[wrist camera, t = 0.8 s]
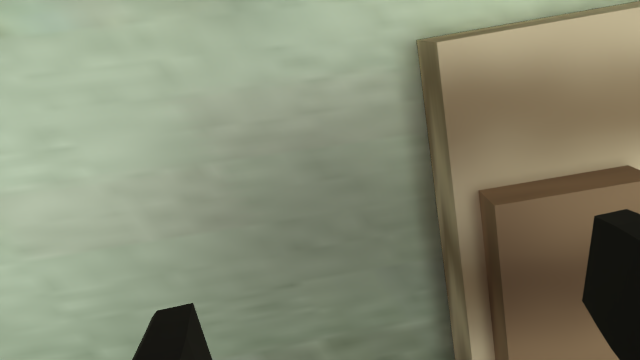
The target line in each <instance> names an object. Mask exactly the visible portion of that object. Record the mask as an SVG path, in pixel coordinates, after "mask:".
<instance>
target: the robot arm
mask: <svg viewBox="0 0 640 360" xmlns="http://www.w3.org/2000/svg"><path fill="white" fill-rule="evenodd" d="M582 302H583V303H584V305H585V307H586V308H587V310H588V312H589V313H590V315H591V317H592V319H593V320H594V322H595V324H596V325H597V327H598V329H599V330H600V332H601V333H602V335H603V337H604V338H605V340H606V341H607V343H608V344H609V346H610V348H611V349H612V351H613V352H614V353H615V354H616V356H617V357H618V358H619V360H640V214H639V213H636V212H633V211H631V210H628V209H624V210H619V211H615V212H610V213H605V214H601V215H596V216H594V222H593V229H592V236H591V243H590V249H589V256H588V263H587V270H586V277H585V284H584V291H583V298H582ZM132 360H212V358H211V355H210V352H209V349H208V346H207V343H206V340H205V337H204V334H203V331H202V328H201V325H200V322H199V319H198V316H197V314H196V311H195V308H194V305H193V303H191V304H186V305H181V306H177V307H172V308H168V309H163V310H158V311H157V312H156V313H155V314H154V316H153V317H152V319H151V321H150V323H149V325H148V328H147V330H146V332H145V334H144V336H143V338H142V340H141V343H140V345H139V347H138V349H137V351H136V353H135V355H134V357H133V359H132Z"/></svg>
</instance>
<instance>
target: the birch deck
mask: <svg viewBox="0 0 640 360" xmlns="http://www.w3.org/2000/svg"><path fill="white" fill-rule="evenodd" d="M417 47H418V55H419V64H420V72H421V80H422V89H423V97H424V105H425V114H426V122H427V130H428V138H429V147H430V155H431V163H432V172H433V180H434V188H435V197H436V205H437V213H438V221H439V230H440V238H441V246H442V255H443V263H444V271H445V280H446V288H447V296H448V304H449V313H450V321H451V329H452V338H453V346H454V354H455V360H495V351H494V341H493V331H492V321H491V311H490V301H489V291H488V281H487V271H486V260H485V250H484V240H483V230H482V220H481V210H480V200H479V190H484V189H490V188H496V187H502V186H508V185H513V184H519V183H525V182H531V181H537V180H543V179H549V178H555V177H561V176H567V175H573V174H579V173H585V172H591V171H597V170H603V169H609V168H614V167H620V166H626V165H629V166H631V167H634V168H636V169H638V170H640V1H637V2H632V3H626V4H620V5H614V6H609V7H603V8H597V9H592V10H586V11H580V12H574V13H569V14H563V15H557V16H552V17H546V18H540V19H534V20H529V21H523V22H517V23H511V24H506V25H500V26H494V27H489V28H483V29H477V30H471V31H466V32H460V33H454V34H448V35H443V36H437V37H431V38H426V39H420V40H417Z"/></svg>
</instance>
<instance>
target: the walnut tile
mask: <svg viewBox="0 0 640 360" xmlns="http://www.w3.org/2000/svg"><path fill="white" fill-rule="evenodd" d="M479 200H480V210H481V220H482V230H483V240H484V250H485V260H486V271H487V281H488V291H489V301H490V311H491V321H492V331H493V341H494V351H495V360H619V358H618V357H617V356H616V354H615V353H614V352H613V351H612V349H611V348H610V346H609V344H608V343H607V341H606V340H605V338H604V337H603V335H602V333H601V332H600V330H599V329H598V327H597V325H596V324H595V322H594V320H593V319H592V317H591V315H590V313H589V312H588V310H587V308H586V307H585V305H584V303H583V302H582V298H583V291H584V284H585V277H586V270H587V263H588V256H589V249H590V243H591V236H592V229H593V222H594V216H596V215H601V214H605V213H610V212H615V211H619V210H624V209H628V210H631V211H633V212H636V213H639V214H640V170H638V169H636V168H634V167H631V166H629V165H626V166H620V167H614V168H609V169H603V170H597V171H591V172H585V173H579V174H573V175H567V176H561V177H555V178H549V179H543V180H537V181H531V182H525V183H519V184H513V185H508V186H502V187H496V188H490V189H484V190H479Z"/></svg>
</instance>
